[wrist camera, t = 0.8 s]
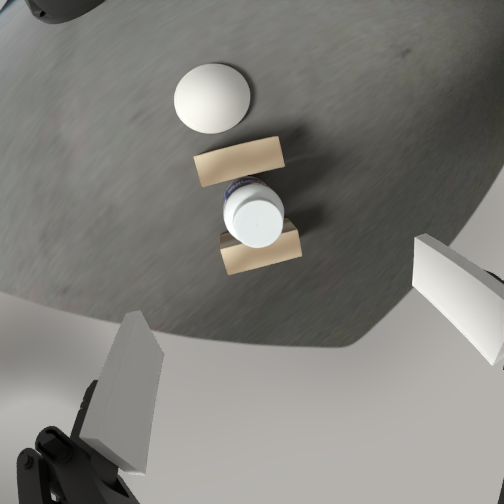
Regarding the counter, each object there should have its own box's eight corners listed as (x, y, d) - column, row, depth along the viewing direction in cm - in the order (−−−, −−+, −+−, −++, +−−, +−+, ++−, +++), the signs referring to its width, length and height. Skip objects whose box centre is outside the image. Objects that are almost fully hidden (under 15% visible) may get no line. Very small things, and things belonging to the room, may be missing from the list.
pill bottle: (269, 173, 30) (290, 187, 21) (273, 219, 32) (293, 251, 23) (220, 178, 29) (219, 195, 20) (226, 225, 31) (228, 260, 22)
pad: (168, 76, 24) (167, 75, 23) (240, 58, 24) (240, 56, 24) (184, 142, 27) (184, 142, 27) (257, 123, 27) (258, 123, 27)
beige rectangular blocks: (197, 154, 28) (193, 156, 24) (269, 136, 28) (278, 136, 24) (227, 257, 33) (228, 275, 29) (292, 240, 33) (302, 255, 29)
